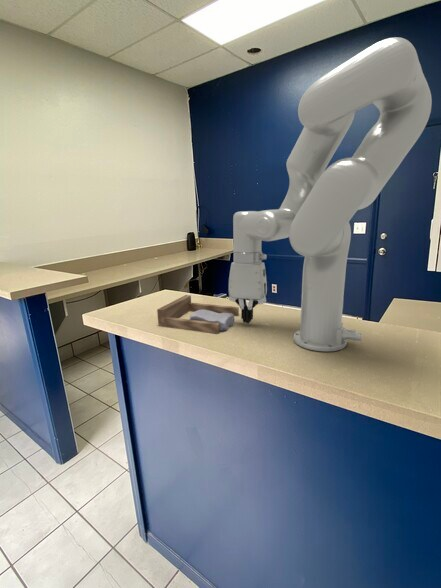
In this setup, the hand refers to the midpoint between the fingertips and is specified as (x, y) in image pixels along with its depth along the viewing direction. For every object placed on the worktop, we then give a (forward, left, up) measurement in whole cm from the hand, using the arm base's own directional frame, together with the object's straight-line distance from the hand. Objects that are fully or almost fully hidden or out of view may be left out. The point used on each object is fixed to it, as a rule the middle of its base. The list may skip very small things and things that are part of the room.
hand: (247, 321), depth 89 cm
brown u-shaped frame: (+14, 0, -1) cm, 14 cm away
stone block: (+10, +2, -2) cm, 10 cm away
